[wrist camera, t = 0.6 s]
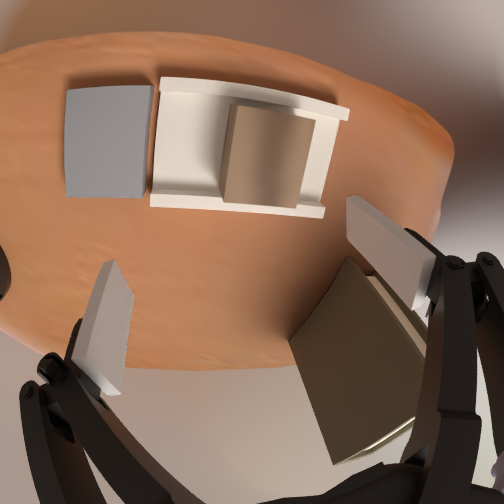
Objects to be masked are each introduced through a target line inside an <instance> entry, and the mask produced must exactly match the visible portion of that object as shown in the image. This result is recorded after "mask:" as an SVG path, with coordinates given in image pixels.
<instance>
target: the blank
mask: <svg viewBox="0 0 504 504" xmlns="http://www.w3.org/2000/svg"><path fill="white" fill-rule="evenodd" d="M315 122H316V120H314V119H310V118H305V117H301V116H296V115H292V114H287V113H282V112H276V111H271V110H265V109H259V108H253V107H246V106H239V105H232V104H230V108H229V114H228V120H227V127H226V133H225V140H224V147H223V154H222V161H221V168H220V175H219V183H218V186H219V189H220V193H221V196H222V199H223V202H224V203H238V204H250V205H262V206H273V207H284V208H294V209H296V206H297V202H298V198H299V194H300V190H301V185H302V181H303V177H304V172H305V168H306V163H307V159H308V155H309V150H310V145H311V141H312V136H313V132H314V127H315Z"/></svg>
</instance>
